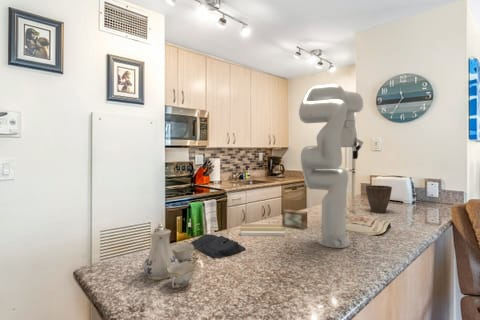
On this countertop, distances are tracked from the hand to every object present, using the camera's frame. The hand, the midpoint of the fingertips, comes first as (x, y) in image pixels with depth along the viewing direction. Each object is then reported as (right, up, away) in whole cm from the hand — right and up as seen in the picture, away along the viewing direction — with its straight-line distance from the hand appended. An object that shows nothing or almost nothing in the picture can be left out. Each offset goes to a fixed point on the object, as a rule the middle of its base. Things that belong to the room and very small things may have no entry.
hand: (346, 158), depth 143 cm
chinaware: (-76, -37, -53) cm, 100 cm away
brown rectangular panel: (-26, -35, +1) cm, 43 cm away
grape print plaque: (+6, -35, +3) cm, 36 cm away
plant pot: (+33, -34, +35) cm, 59 cm away
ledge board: (-43, -35, -8) cm, 56 cm away
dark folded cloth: (-63, -36, -30) cm, 79 cm away
